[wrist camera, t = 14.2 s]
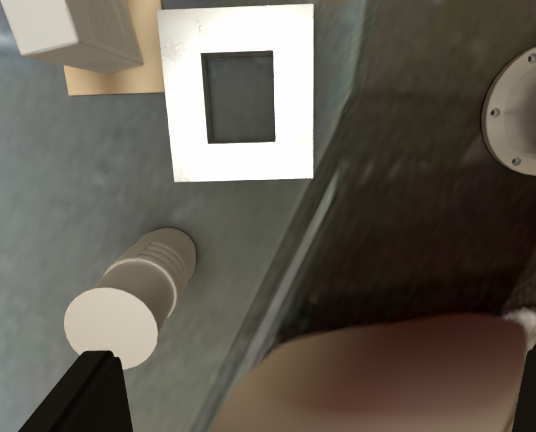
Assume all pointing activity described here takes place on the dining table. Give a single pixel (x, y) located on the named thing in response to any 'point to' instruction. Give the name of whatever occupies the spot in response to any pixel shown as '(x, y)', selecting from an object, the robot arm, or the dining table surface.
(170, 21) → the white rectangular frame
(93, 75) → the wooden coaster
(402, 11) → the dining table surface
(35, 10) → the skincare box
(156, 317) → the white ribbed canister
